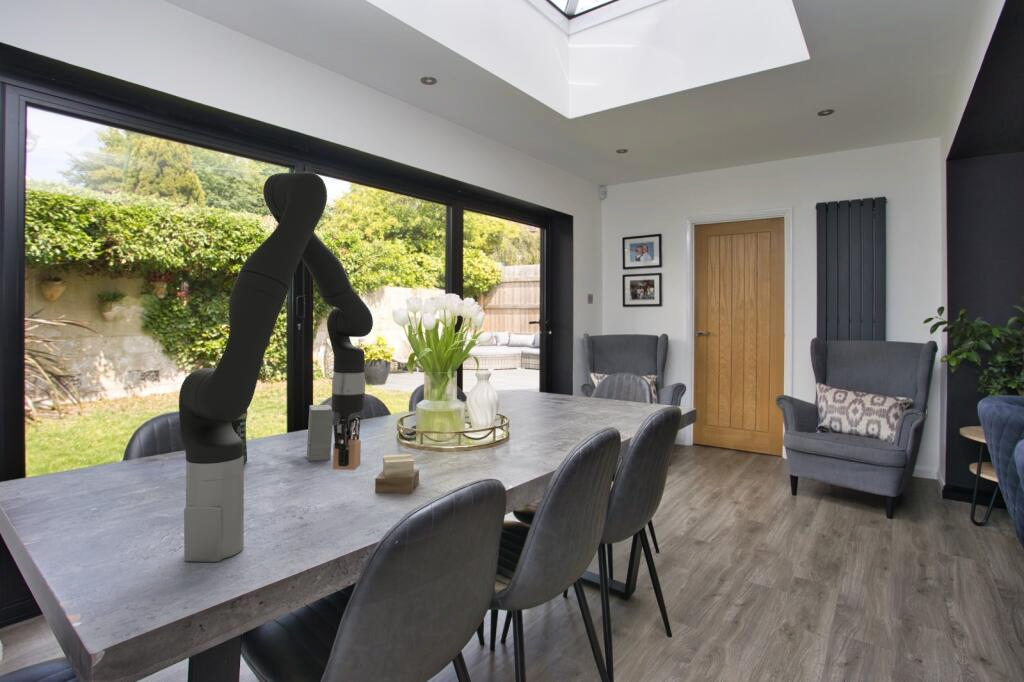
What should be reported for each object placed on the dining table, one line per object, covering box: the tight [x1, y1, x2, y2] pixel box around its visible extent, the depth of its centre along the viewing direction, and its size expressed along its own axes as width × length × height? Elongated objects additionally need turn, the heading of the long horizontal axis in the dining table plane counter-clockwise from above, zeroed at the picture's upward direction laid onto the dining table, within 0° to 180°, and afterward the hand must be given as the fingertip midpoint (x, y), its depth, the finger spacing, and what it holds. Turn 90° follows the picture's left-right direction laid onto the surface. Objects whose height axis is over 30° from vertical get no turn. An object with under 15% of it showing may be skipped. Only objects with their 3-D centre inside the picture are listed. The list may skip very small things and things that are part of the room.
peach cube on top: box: [332, 439, 362, 471], centre depth 131 cm, size 5×5×6 cm
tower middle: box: [382, 453, 415, 478], centre depth 140 cm, size 7×7×4 cm
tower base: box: [374, 468, 420, 495], centre depth 140 cm, size 9×9×4 cm
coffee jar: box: [231, 409, 249, 465], centre depth 158 cm, size 10×8×19 cm
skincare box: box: [306, 404, 334, 462], centre depth 169 cm, size 8×7×16 cm
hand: (347, 462), depth 131 cm, fingers closed on peach cube on top, 5 cm apart
